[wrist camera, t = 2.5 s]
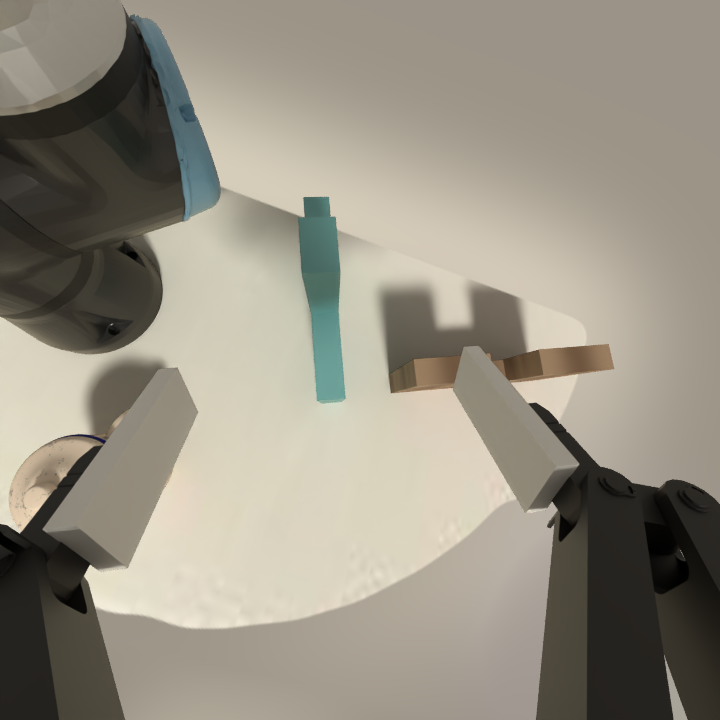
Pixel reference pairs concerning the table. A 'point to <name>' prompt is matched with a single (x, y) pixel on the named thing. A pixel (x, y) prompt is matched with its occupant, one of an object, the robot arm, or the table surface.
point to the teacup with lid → (49, 471)
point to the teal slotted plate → (323, 295)
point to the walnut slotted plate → (504, 367)
